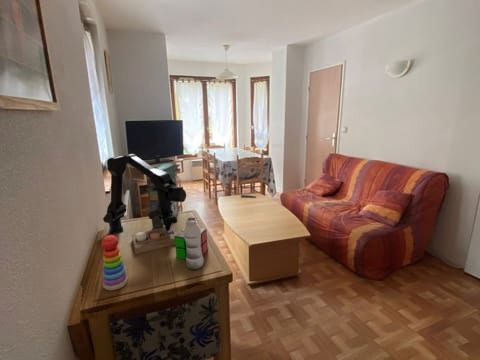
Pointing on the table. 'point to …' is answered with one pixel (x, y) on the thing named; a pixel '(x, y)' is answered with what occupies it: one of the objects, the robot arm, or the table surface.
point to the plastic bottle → (193, 244)
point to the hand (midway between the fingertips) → (167, 230)
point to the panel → (154, 240)
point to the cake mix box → (153, 194)
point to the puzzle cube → (181, 244)
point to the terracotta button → (154, 235)
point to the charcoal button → (167, 232)
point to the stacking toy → (113, 265)
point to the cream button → (141, 236)
